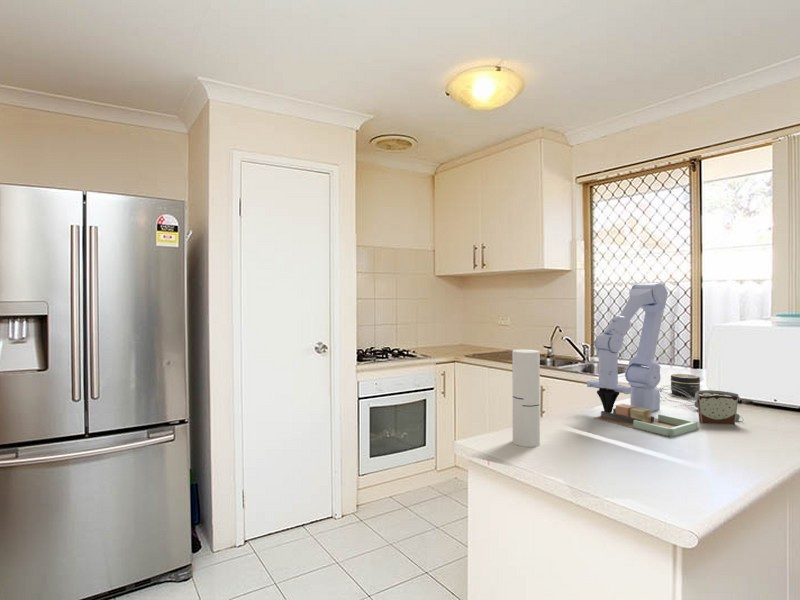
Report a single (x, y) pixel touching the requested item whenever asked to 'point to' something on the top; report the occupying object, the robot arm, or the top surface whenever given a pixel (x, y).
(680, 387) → the jar
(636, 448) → the top surface
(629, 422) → the groove board
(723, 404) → the food container
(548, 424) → the top surface
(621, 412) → the terracotta block
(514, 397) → the cylindrical container
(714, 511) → the top surface
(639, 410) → the birch block
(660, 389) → the kitchen whisk
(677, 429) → the tray
